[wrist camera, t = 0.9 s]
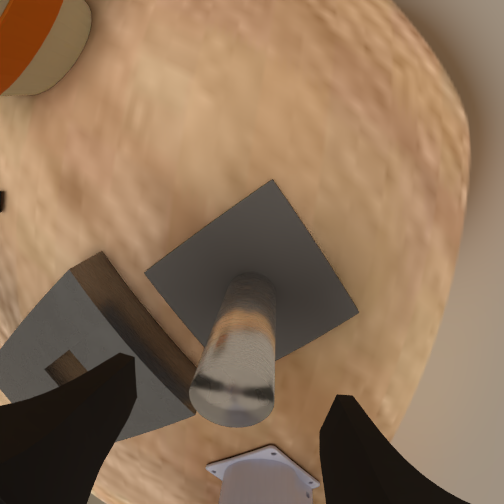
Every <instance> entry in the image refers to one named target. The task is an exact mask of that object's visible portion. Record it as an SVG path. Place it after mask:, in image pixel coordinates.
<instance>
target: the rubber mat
mask: <svg viewBox="0 0 504 504" xmlns="http://www.w3.org/2000/svg"><path fill="white" fill-rule="evenodd" d="M245 272H257V273H260V274H262V275H264V276H266V277H267V278H268V279H269V280H270V281H271V282H272V284H273V285H274V288H275V292H276V327H275V361H276V360H278V359H280V358H282V357H284V356H286V355H287V354H289V353H291V352H293V351H295V350H297V349H298V348H300V347H302V346H304V345H306V344H307V343H309V342H311V341H313V340H314V339H316V338H318V337H320V336H321V335H323V334H325V333H327V332H328V331H330V330H332V329H333V328H335V327H337V326H338V325H340V324H342V323H343V322H345V321H347V320H348V319H350V318H351V317H353V316H355V315H356V314H358V313H359V311H358V309H357V308H356V306H355V304H354V303H353V301H352V299H351V298H350V296H349V295H348V293H347V291H346V290H345V288H344V286H343V285H342V283H341V282H340V280H339V278H338V277H337V275H336V274H335V272H334V271H333V269H332V267H331V266H330V264H329V263H328V261H327V260H326V258H325V256H324V255H323V253H322V252H321V250H320V249H319V247H318V246H317V244H316V243H315V241H314V240H313V238H312V237H311V235H310V234H309V232H308V230H307V229H306V227H305V226H304V224H303V223H302V222H301V220H300V219H299V217H298V216H297V214H296V213H295V211H294V210H293V208H292V207H291V205H290V204H289V202H288V201H287V199H286V198H285V197H284V195H283V194H282V192H281V191H280V189H279V188H278V187H277V185H276V184H275V182H274V181H273V179H272V180H271V181H269V182H268V183H266V184H265V185H263V186H262V187H261V188H259V189H258V190H256V191H255V192H253V193H252V194H250V195H249V196H248V197H246V198H245V199H243V200H242V201H240V202H239V203H238V204H236V205H235V206H233V207H232V208H231V209H229V210H228V211H226V212H225V213H224V214H222V215H221V216H219V217H218V218H217V219H215V220H214V221H212V222H211V223H210V224H208V225H207V226H206V227H204V228H203V229H201V230H200V231H199V232H197V233H196V234H195V235H193V236H192V237H191V238H189V239H188V240H187V241H185V242H184V243H183V244H181V245H180V246H178V247H177V248H176V249H174V250H173V251H172V252H171V253H169V254H168V255H167V256H165V257H164V258H163V259H161V260H160V261H159V262H157V263H156V264H155V265H153V266H152V267H151V268H150V269H148V270H147V271H146V272H145V273H144V274H145V275H146V276H147V278H148V279H149V280H150V281H151V283H152V284H153V285H154V287H155V288H156V289H157V290H158V292H159V293H160V294H161V296H162V297H163V298H164V299H165V301H166V302H167V303H168V304H169V306H170V307H171V308H172V309H173V311H174V312H175V313H176V314H177V315H178V317H179V318H180V319H181V320H182V321H183V323H184V324H185V325H186V326H187V327H188V329H189V330H190V331H191V332H192V333H193V335H194V336H195V337H196V338H197V339H198V340H199V342H200V343H201V344H202V345H203V346H204V347H205V346H206V344H207V341H208V338H209V336H210V333H211V331H212V328H213V325H214V323H215V320H216V318H217V315H218V312H219V310H220V307H221V305H222V302H223V299H224V297H225V294H226V292H227V289H228V286H229V284H230V282H231V281H232V280H233V279H234V278H235V277H236V276H238V275H239V274H242V273H245Z"/></svg>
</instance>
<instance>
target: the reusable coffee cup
mask: <svg viewBox="0 0 504 504" xmlns="http://www.w3.org/2000/svg"><path fill="white" fill-rule="evenodd" d="M91 22H92V19H91V11H90V8H89V6H88V5H87V3H86V2H85V1H84V0H0V96H15V95H36V94H39V93H42V92H44V91H46V90H48V89H49V88H51V87H52V86H54V85H55V84H56V83H57V82H58V81H60V80H61V79H62V78H63V77H64V76H65V74H66V73H67V72H68V71H69V70H70V69H71V67H72V66H73V65H74V63H75V62H76V60H77V59H78V57H79V55H80V54H81V52H82V50H83V48H84V46H85V44H86V41H87V39H88V36H89V32H90V28H91Z"/></svg>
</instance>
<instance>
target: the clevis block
mask: <svg viewBox="0 0 504 504" xmlns="http://www.w3.org/2000/svg"><path fill="white" fill-rule="evenodd" d="M118 353H123V354H127V355H130V356H133V357H135V372H136V387H137V399H136V401H135V404H134V406H133V409H132V411H131V414H130V416H129V418H128V420H127V422H126V424H125V425H124V427H123V429H122V431H121V432H120V434H119V436H118V438H117V439H116V441H115V442H117V441H121V440H124V439H127V438H131V437H134V436H137V435H140V434H143V433H146V432H150V431H153V430H156V429H158V428H161V427H164V426H167V425H170V424H173V423H176V422H178V421H181V420H184V419H186V418H189V417H192V416H194V415H195V414H196V409H195V408H194V407H193V405H192V403H191V401H190V397H189V389H190V386H191V383H192V380H193V378H194V375H195V372H196V370H197V368H196V367H195V366H194V365H193V364H192V363H191V362H190V361H189V360H188V358H187V357H186V356H185V355H184V354H183V353H182V352H181V351H180V349H179V348H178V347H177V346H176V345H175V344H174V343H173V342H172V340H171V339H170V338H169V337H168V336H167V335H166V333H165V332H164V331H163V330H162V329H161V327H160V326H159V325H158V324H157V323H156V321H155V320H154V319H153V318H152V317H151V315H150V314H149V313H148V312H147V310H146V309H145V308H144V307H143V306H142V304H141V303H140V302H139V300H138V299H137V298H136V297H135V295H134V294H133V293H132V292H131V290H130V289H129V288H128V286H127V285H126V284H125V282H124V281H123V280H122V278H121V277H120V276H119V274H118V273H117V272H116V270H115V269H114V267H113V266H112V265H111V263H110V262H109V261H108V259H107V258H106V256H105V255H104V254H103V252H102V251H101V252H99V253H98V254H96V255H94V256H92V257H90V258H89V259H87V260H85V261H83V262H81V263H80V264H78V265H76V266H74V267H73V268H71V269H69V270H68V271H67V272H66V273H65V274H64V275H63V277H62V278H61V279H60V280H59V281H58V282H57V283H56V284H55V285H54V286H53V287H52V288H51V289H50V291H49V292H48V293H47V294H46V295H45V296H44V297H43V298H42V299H41V301H40V302H39V303H38V304H37V305H36V306H35V307H34V309H33V310H32V311H31V312H30V313H29V314H28V316H27V317H26V318H25V319H24V320H23V322H22V323H21V324H20V325H19V326H18V328H17V329H16V330H15V331H14V333H13V334H12V335H11V336H10V338H9V339H8V340H7V341H6V343H5V344H4V345H3V347H2V348H1V349H0V389H1V391H2V392H3V393H4V394H5V395H6V397H7V398H8V399H9V400H10V401H11V403H15V402H19V401H22V400H26V399H29V398H32V397H35V396H38V395H41V394H43V393H46V392H48V391H51V390H53V389H55V388H57V387H59V386H61V385H63V384H65V383H67V382H69V381H71V380H73V379H75V378H77V377H79V376H81V375H82V374H84V373H86V372H88V371H89V370H91V369H93V368H94V367H96V366H98V365H99V364H101V363H103V362H104V361H106V360H108V359H109V358H111V357H113V356H114V355H116V354H118Z"/></svg>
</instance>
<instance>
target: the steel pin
mask: <svg viewBox="0 0 504 504" xmlns="http://www.w3.org/2000/svg"><path fill="white" fill-rule="evenodd" d="M275 327H276V292H275V288H274V285H273V284H272V282H271V281H270V280H269V279H268V278H267V277H266V276H264V275H262V274H260V273H257V272H245V273H242V274H239V275H238V276H236V277H235V278H234V279H233V280H232V281H231V282H230V284H229V286H228V289H227V292H226V294H225V297H224V299H223V302H222V305H221V307H220V310H219V312H218V315H217V318H216V320H215V323H214V325H213V328H212V331H211V333H210V336H209V338H208V341H207V344H206V346H205V349H204V351H203V354H202V357H201V359H200V362H199V365H198V367H197V370H196V372H195V375H194V378H193V380H192V383H191V386H190V389H189V397H190V401H191V403H192V405H193V407H194V408H195V409H196V411H197V412H198V413H199V414H200V415H202V416H203V417H204V418H206V419H207V420H209V421H211V422H213V423H216V424H219V425H222V426H226V427H236V428H237V427H247V426H252V425H255V424H257V423H259V422H261V421H263V420H264V419H265V418H267V417H268V416H269V414H270V413H271V411H272V409H273V407H274V389H275Z"/></svg>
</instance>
